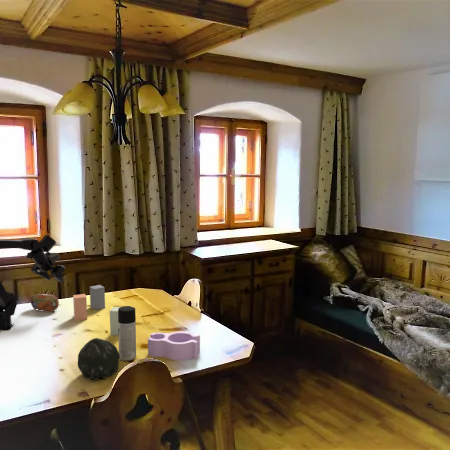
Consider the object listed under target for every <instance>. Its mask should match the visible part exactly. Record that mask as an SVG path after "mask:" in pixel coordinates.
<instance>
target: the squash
mask: <svg viewBox="0 0 450 450" xmlns="http://www.w3.org/2000/svg"><path fill="white" fill-rule="evenodd" d="M119 358H120V357H119V349H118V348H117V347H116V346H115V345H114V344H113V342H111V341H109V340H105V339H102V338H97V337H96V338H95V337H94V338H92V339H91V340H89V341H87V342H86V343H85V344H84V345H83V346H82V347H81V349H80V351H79V352H78V354H77V368H78V370H79V372H81V375H82V376H83V377H84V378H85V379H88V380H89V379H92V380H94V381H95V380H99V379H100V378H102V379H107V378H108V377H109V376H112V375H113V374H115V373H116V372H117V371H118V369H119V366H120V359H119Z"/></svg>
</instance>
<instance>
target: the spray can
mask: <svg viewBox="0 0 450 450" xmlns="http://www.w3.org/2000/svg"><path fill="white" fill-rule="evenodd" d="M119 307H120V308H119V309H118V335H117V336H118V352H119V357H120V358H119V361H123V362H130V361H132V360H134V359H136V357H137V327H136V326H137V320H136V319H137V318H136V317H137V316H136V307H134V306H131V305H125V306H119Z"/></svg>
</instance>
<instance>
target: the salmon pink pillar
mask: <svg viewBox="0 0 450 450" xmlns="http://www.w3.org/2000/svg"><path fill="white" fill-rule="evenodd" d="M72 300H73V301H72V303H73V304H72V305H73V318H74V321H75V322H76V321H77V322H78V321H83V320H85V321H86V320H88V309H87V308H88V305H87V303H88V302H87V301H88V300H87V295H86V294H85V293H81V294H74V295H73V294H72Z"/></svg>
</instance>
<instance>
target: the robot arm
mask: <svg viewBox="0 0 450 450" xmlns="http://www.w3.org/2000/svg"><path fill="white" fill-rule="evenodd" d="M38 240H39V239H37V238H30V237H22V238H18V239H4V238H3V239H1V238H0V249H3V248H4V249H20V250H24V251H30V252H27V255H26V257H25V258H26V259H29V260H33V261H34V264H33V265H32V266H31V268H30V271H31V273H33V274H35V275H38V276H39V277H42V278H44V279H46V280H48V281H50V280H51V276H52V278H53V279H55V280H57V281H58V282H60V283H63V282H64V278H63V273H64V271H66V267H65V265H62V264H61V265H60V264H56V265H55V263H56V262H58V261H60V260H61V257H60V254H59V253H57V252H50V251H51V249H53V248H54V246H56V245H57V242H56V240H55V239H54V238H52V237H51V236H49V235H48V234H45V235H44V236H43V237H42V239H40V240H39V241H38ZM54 265H55V266H54ZM48 271H49V272H50V275H51V276H50V275H49V273H48ZM17 305H18V299H17V298H16V296H15V294H14V293H13V292H11V291H7V290H6V288H5V286H4V285H3V282H2V281H1V280H0V329H10V328H11V327H13V326H14V325H12V324H13V323H12V318H11V316H14V315H15V312H16V309H17ZM10 330H11V329H10Z"/></svg>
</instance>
